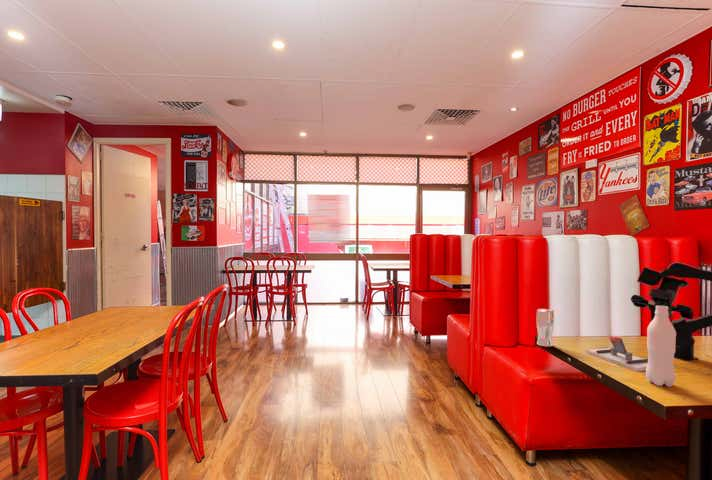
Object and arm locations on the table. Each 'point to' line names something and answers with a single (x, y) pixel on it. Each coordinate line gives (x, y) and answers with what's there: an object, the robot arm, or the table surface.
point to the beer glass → (545, 327)
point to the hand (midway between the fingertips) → (652, 324)
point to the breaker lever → (618, 344)
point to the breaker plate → (620, 358)
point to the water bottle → (661, 348)
